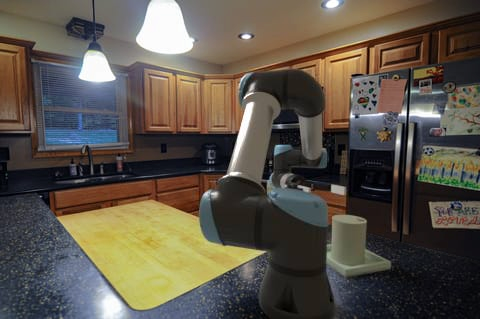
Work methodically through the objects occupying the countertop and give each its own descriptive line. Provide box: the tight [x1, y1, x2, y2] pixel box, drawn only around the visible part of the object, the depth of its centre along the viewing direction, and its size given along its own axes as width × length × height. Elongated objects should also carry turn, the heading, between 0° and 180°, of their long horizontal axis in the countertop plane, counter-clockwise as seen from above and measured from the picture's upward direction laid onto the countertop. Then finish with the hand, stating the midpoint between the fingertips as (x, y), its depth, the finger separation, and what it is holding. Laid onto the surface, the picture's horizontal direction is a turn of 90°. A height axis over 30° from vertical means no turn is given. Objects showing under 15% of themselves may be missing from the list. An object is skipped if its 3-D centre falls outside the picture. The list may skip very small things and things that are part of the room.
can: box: [330, 214, 368, 266], centre depth 73 cm, size 9×9×12 cm
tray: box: [326, 243, 392, 278], centre depth 73 cm, size 15×15×2 cm
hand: (328, 191), depth 82 cm, fingers open, 13 cm apart
